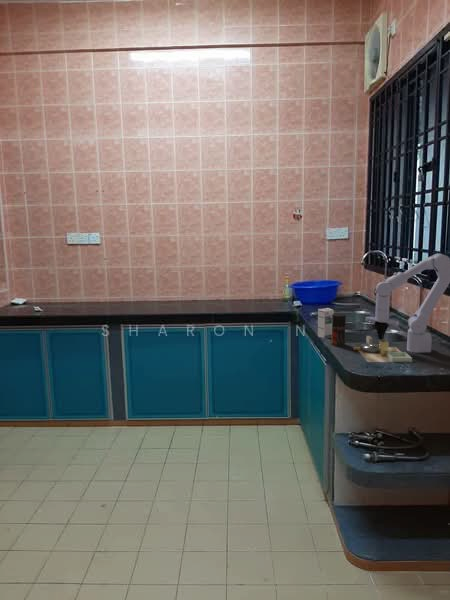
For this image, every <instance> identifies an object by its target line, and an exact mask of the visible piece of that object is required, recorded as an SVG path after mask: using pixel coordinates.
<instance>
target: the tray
mask: <svg viewBox="0 0 450 600" xmlns="http://www.w3.org/2000/svg"><path fill="white" fill-rule="evenodd" d="M386 356H387V357H388V358H389V359H390V360H391V361H392V362H391V363H413V357H411V355H410V354H408V353H407V352H406V351H401V352H386Z"/></svg>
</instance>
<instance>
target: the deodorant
mask: <svg viewBox="0 0 450 600" xmlns="http://www.w3.org/2000/svg"><path fill="white" fill-rule="evenodd" d="M346 317H347V316H346V314H344V313H334V314H333V315H332V338H331V346H334V347H345V346H346V344H345V343H346V319H347V318H346Z"/></svg>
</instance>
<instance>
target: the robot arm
mask: <svg viewBox="0 0 450 600" xmlns="http://www.w3.org/2000/svg"><path fill="white" fill-rule="evenodd" d="M425 270H435V273H436V276H437V279H436V281H435V282H434V283H433V286H432V287H431V289H430V290H429V292H428V293H427V295H426V296H425V298H424V300H423V302H422V303H421V305H420V307H419V308H418V309H417V310H416V311H415V312H414V314H413V315H411V316H410V317H409V318H408V320H407V325H408V327H409V329H408V330H407V340H406V341H407V342H406V350H407V351H408V352H411V353H415V354H416V353H418V354H421V353H432V341H433V338H432V334H431V333H430V332H427V331H426V330H427V328H428V327H427V325H428V322H430V321H429V320H430V316H431V314H432V312H433V311H434V309H435V308H436V306H437V305H438V303H439V301H440V300H441V297H443V295H444V293H445V291H446V290H447V288H448V286H449V285H450V257H449V256H448V255H446V254H443V253H440V252H439V253H434V254H433V255H431V256H428V257H426V258H425V259H423V260H421V261H420V262H418V263H416V264H415V265H413V266H411V267H410V268H409V269H407V270H406V271H404V272H401V271H398V272H394V273H393V275H392V276H390V277H388V278H387V279H386V278H384V279H383V281H380V282H378V283H377V284H376V287H375V292H376V295H375V296H376V299H375V311H374V312H375V313H374V314H375V316H365V319H364V320H365V322H370V323H373V326H374V328H375V330H376V333H377V338H378V340H384V337H385V334H386V331H387V329H388V327H389V326H390V325H392V326H397V327H398V326H400V320H396V319H392V318H390V302H391V300H390V295H391V293H392V292H393V291H395V290H397V289H399V288H401V287H403V286H404V285H405V284H407V283H408V279H410V278H412V277H413V276H415V275H418V274H420V273H421V272H423V271H425Z"/></svg>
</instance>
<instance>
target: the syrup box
mask: <svg viewBox="0 0 450 600" xmlns="http://www.w3.org/2000/svg"><path fill="white" fill-rule="evenodd" d="M333 314H335V310H334V309H333V308H330V307H326V308H318V309H317V337H319V338H320V337H321V338H324V339H325V338H331V339H332V315H333Z"/></svg>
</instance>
